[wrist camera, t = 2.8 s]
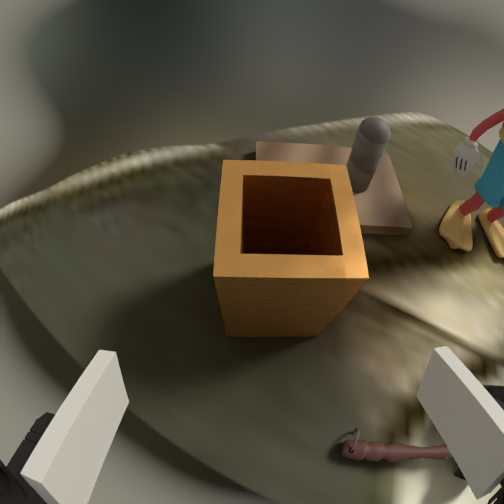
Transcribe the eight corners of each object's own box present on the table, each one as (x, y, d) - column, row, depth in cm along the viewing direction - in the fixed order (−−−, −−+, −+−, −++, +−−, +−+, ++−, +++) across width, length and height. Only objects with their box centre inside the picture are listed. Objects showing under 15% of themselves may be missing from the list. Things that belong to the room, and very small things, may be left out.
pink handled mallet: (508, 394, 21) (484, 469, 18) (364, 362, 26) (332, 448, 23) (552, 391, 14) (522, 484, 11) (384, 357, 19) (342, 472, 16)
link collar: (311, 257, 28) (346, 165, 18) (316, 336, 25) (369, 277, 14) (230, 255, 28) (223, 160, 18) (227, 336, 25) (213, 276, 14)
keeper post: (383, 160, 35) (410, 97, 26) (406, 235, 30) (451, 172, 21) (255, 151, 35) (258, 77, 26) (255, 230, 30) (259, 152, 21)
